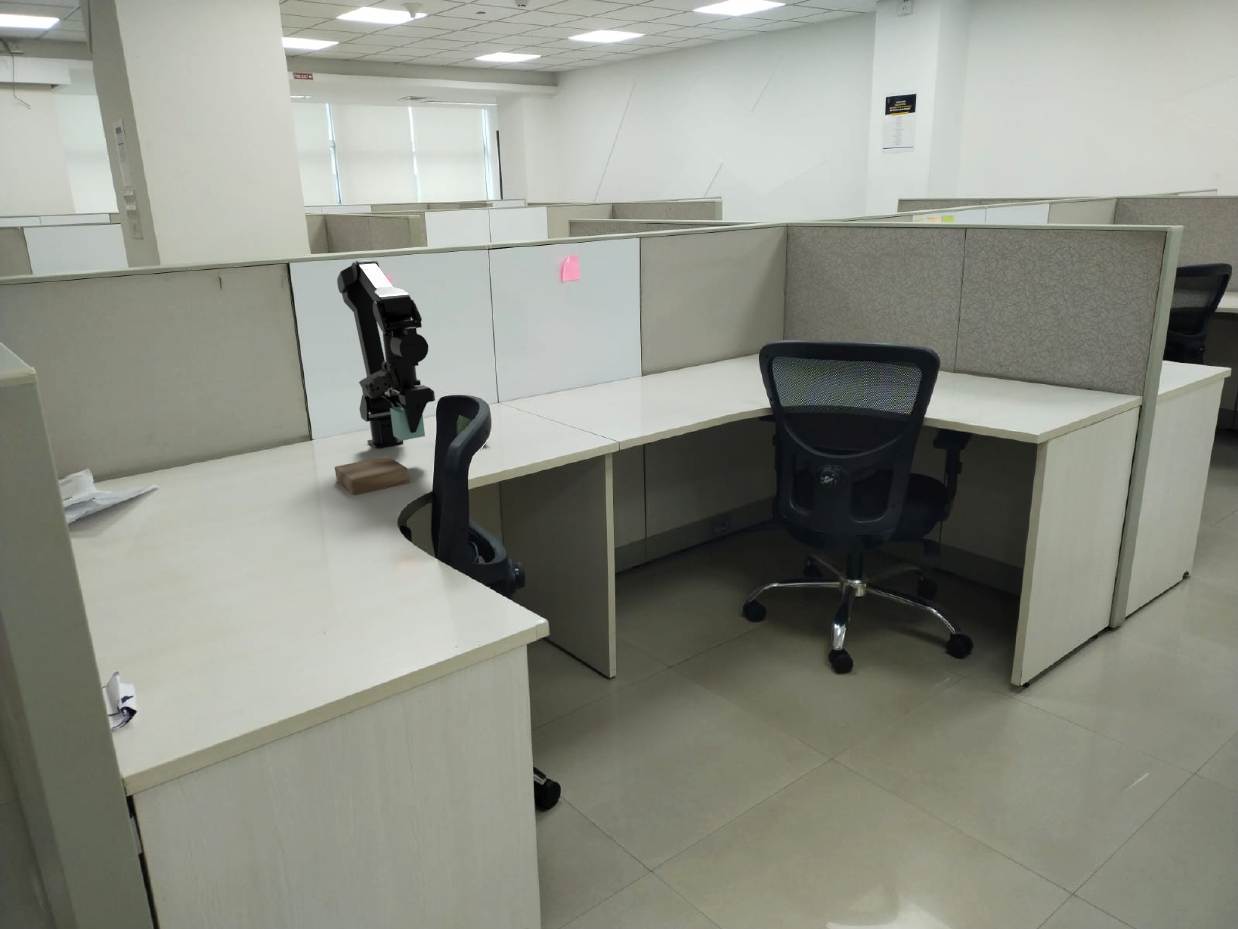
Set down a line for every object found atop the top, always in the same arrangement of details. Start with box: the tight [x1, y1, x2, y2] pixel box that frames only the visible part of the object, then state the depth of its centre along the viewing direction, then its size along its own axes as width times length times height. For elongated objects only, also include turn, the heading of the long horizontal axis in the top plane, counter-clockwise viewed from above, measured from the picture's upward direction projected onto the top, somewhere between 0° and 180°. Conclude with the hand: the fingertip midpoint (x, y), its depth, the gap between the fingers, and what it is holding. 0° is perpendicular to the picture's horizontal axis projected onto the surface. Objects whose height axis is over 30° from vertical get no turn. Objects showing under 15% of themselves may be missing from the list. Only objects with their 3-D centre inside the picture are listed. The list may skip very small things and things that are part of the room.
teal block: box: [390, 406, 426, 442], centre depth 183 cm, size 5×5×6 cm
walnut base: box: [334, 455, 410, 496], centre depth 174 cm, size 11×11×3 cm
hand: (408, 430), depth 184 cm, fingers closed on teal block, 5 cm apart
